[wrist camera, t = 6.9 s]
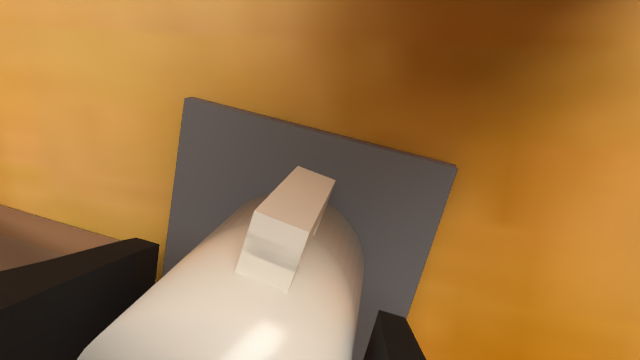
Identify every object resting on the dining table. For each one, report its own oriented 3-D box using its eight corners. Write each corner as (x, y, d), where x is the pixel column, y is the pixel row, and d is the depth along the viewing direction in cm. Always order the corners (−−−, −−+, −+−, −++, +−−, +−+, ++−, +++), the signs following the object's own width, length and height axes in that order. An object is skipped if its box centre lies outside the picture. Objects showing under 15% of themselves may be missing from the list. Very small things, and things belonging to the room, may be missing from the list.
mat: (380, 384, 14) (379, 395, 14) (163, 316, 15) (155, 324, 14) (455, 164, 12) (457, 168, 11) (192, 96, 12) (184, 98, 12)
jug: (334, 347, 13) (285, 589, 7) (204, 294, 14) (48, 482, 7) (402, 187, 12) (417, 322, 5) (252, 130, 12) (102, 196, 6)
